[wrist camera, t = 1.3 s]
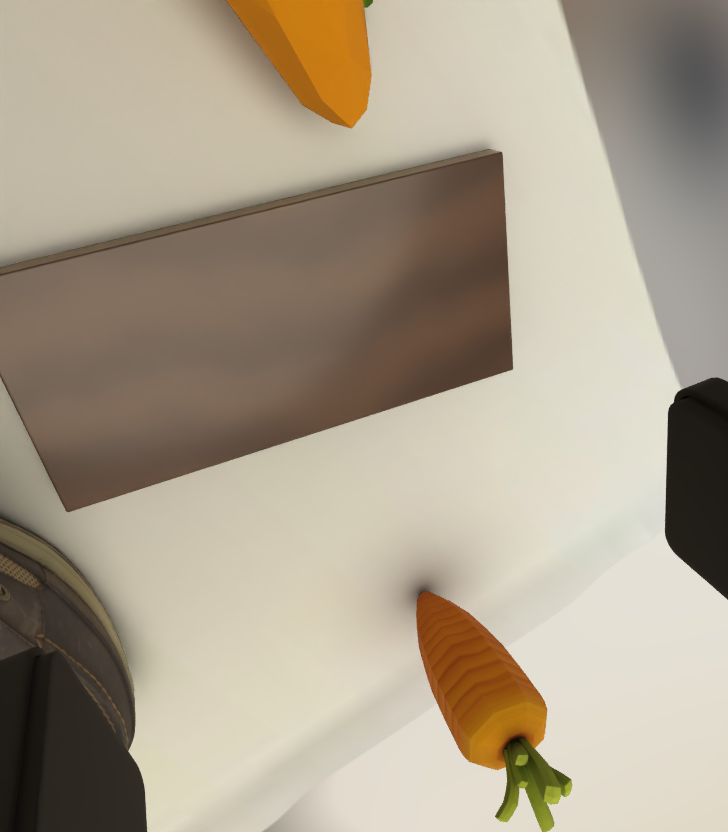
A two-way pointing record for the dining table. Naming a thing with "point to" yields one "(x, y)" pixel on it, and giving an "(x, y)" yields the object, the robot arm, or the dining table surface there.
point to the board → (256, 325)
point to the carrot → (488, 704)
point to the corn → (315, 51)
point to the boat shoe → (63, 623)
